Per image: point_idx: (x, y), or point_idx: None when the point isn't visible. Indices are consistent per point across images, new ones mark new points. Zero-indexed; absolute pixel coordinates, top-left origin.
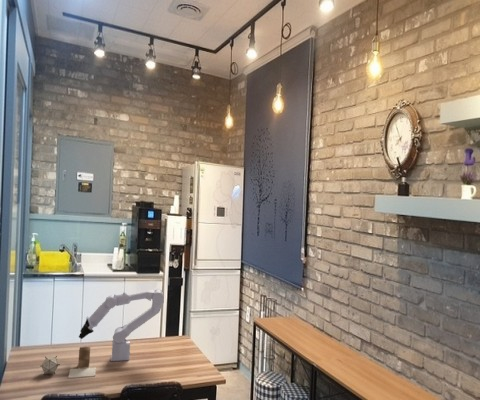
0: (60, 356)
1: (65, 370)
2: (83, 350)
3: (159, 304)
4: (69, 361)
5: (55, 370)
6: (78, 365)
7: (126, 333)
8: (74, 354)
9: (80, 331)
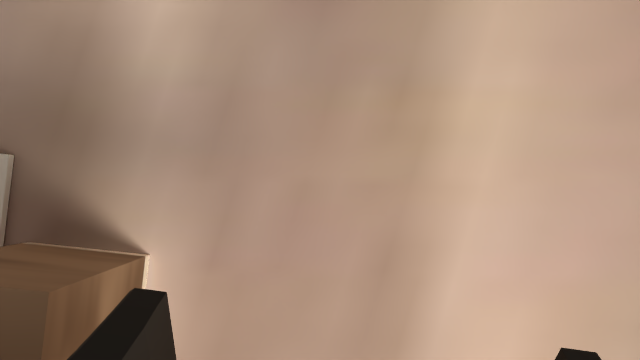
0: (509, 41)
1: (21, 101)
2: None
3: None
4: (301, 146)
5: None
6: (7, 247)
7: None
8: (535, 208)
9: (558, 355)
